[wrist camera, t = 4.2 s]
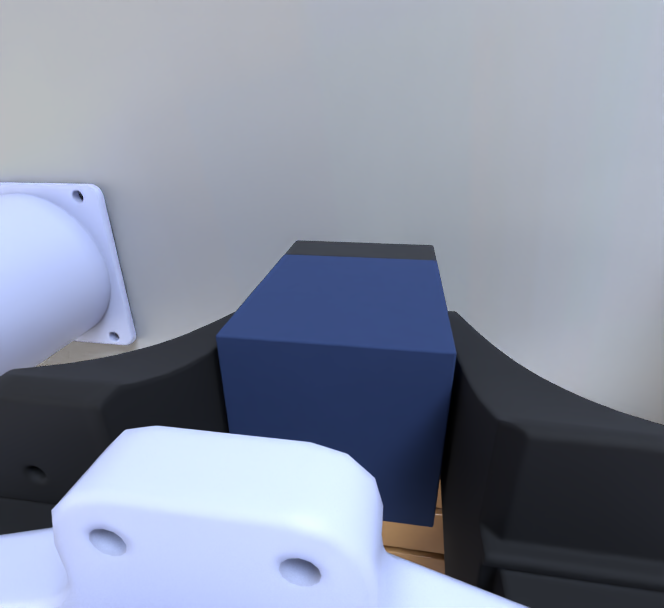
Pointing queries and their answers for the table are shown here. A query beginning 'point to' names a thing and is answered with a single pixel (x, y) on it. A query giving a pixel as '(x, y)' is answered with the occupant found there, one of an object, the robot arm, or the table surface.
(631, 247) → the table surface
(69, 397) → the robot arm
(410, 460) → the blue block
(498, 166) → the table surface
